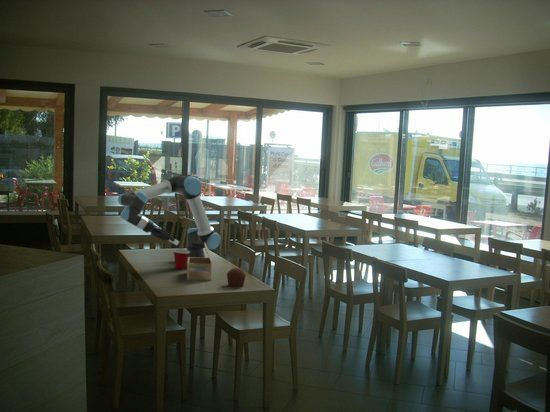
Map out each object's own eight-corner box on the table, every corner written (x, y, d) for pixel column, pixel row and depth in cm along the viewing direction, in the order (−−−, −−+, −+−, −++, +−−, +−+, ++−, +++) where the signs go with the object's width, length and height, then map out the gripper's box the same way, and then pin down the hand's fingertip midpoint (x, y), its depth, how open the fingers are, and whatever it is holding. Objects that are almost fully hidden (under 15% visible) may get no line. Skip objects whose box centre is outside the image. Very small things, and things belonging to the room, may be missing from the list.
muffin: (246, 288, 330) (247, 271, 329) (227, 288, 328) (228, 270, 327) (243, 283, 342) (244, 266, 341) (225, 283, 340) (225, 266, 339)
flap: (210, 257, 363) (204, 242, 361) (211, 257, 363) (205, 242, 361) (211, 263, 344) (204, 247, 343) (211, 263, 344) (205, 247, 343)
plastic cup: (185, 270, 367) (186, 252, 366) (169, 269, 369) (170, 250, 368) (191, 267, 378) (192, 249, 377) (175, 266, 380) (176, 248, 379)
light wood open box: (187, 272, 363) (188, 256, 362) (210, 273, 365) (211, 257, 364) (186, 280, 342) (187, 263, 341) (211, 280, 344) (211, 264, 343)
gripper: (138, 232, 350) (171, 251, 359) (146, 226, 340) (180, 245, 349) (143, 222, 354) (175, 241, 363) (151, 216, 344) (184, 235, 352)
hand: (178, 243), depth 356 cm, fingers closed
